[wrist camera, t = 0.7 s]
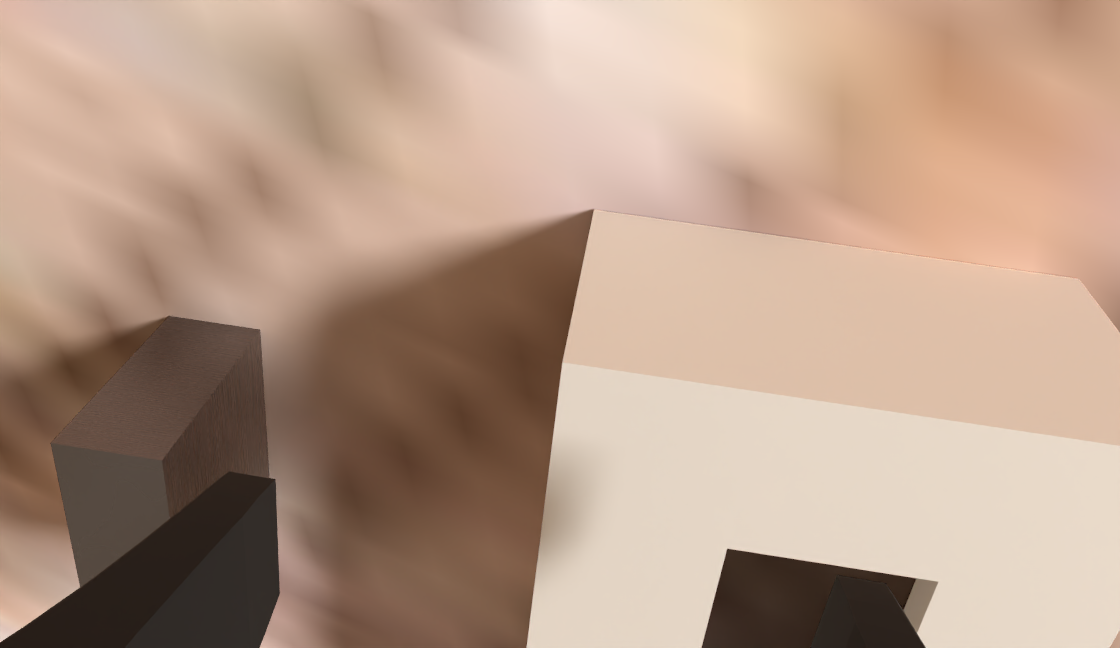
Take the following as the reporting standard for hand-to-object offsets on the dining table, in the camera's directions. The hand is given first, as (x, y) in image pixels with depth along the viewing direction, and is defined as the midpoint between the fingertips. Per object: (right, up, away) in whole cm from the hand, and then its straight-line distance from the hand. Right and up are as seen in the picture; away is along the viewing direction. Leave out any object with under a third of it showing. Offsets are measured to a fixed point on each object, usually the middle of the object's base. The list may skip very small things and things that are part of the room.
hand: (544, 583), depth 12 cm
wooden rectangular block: (-8, +1, +12) cm, 14 cm away
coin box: (+5, -1, +11) cm, 12 cm away
